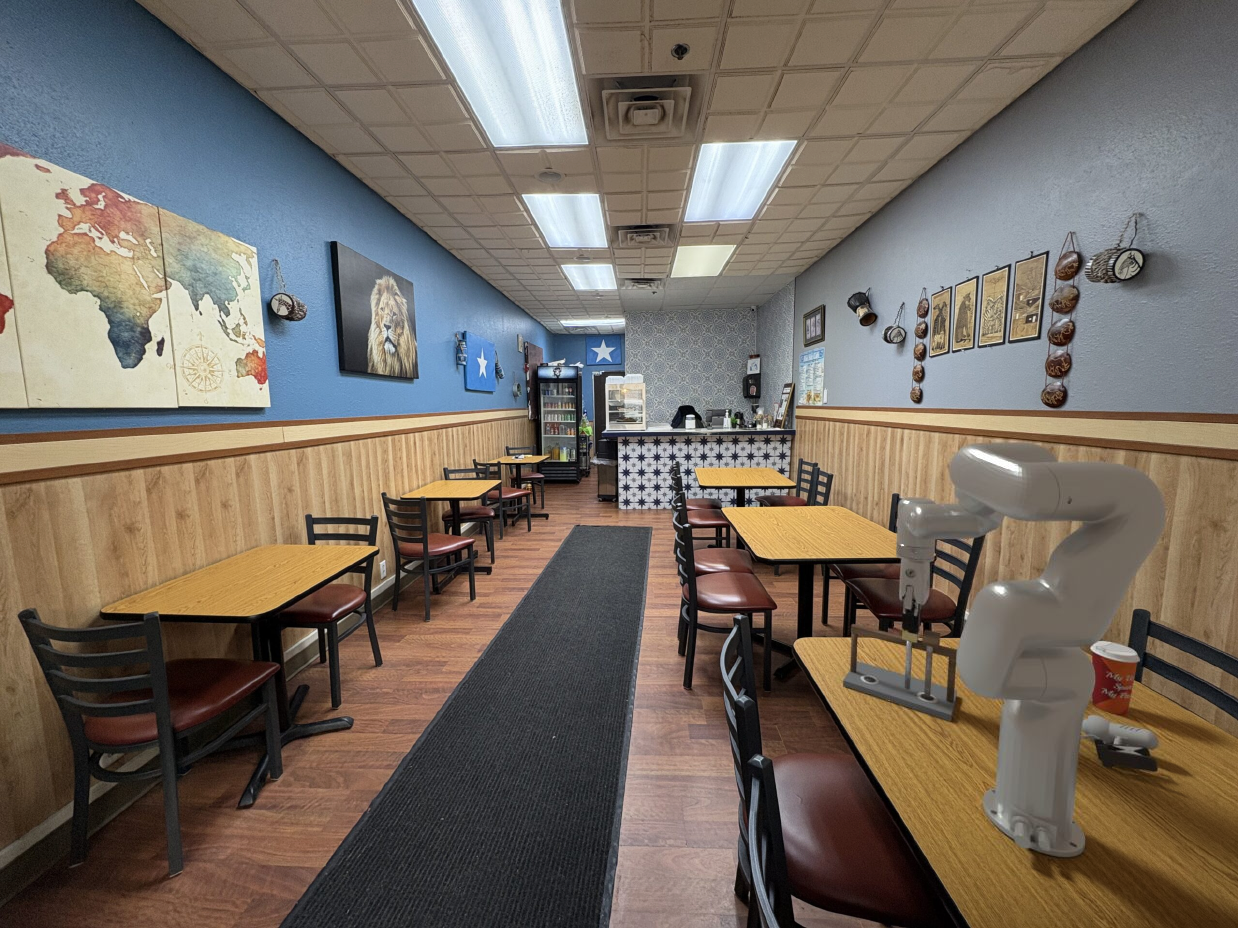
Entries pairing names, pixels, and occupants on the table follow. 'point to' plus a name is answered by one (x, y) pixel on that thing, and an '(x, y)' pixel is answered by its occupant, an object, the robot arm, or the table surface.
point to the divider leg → (910, 650)
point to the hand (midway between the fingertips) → (911, 626)
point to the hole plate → (901, 690)
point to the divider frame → (927, 644)
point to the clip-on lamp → (1117, 754)
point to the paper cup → (1113, 676)
